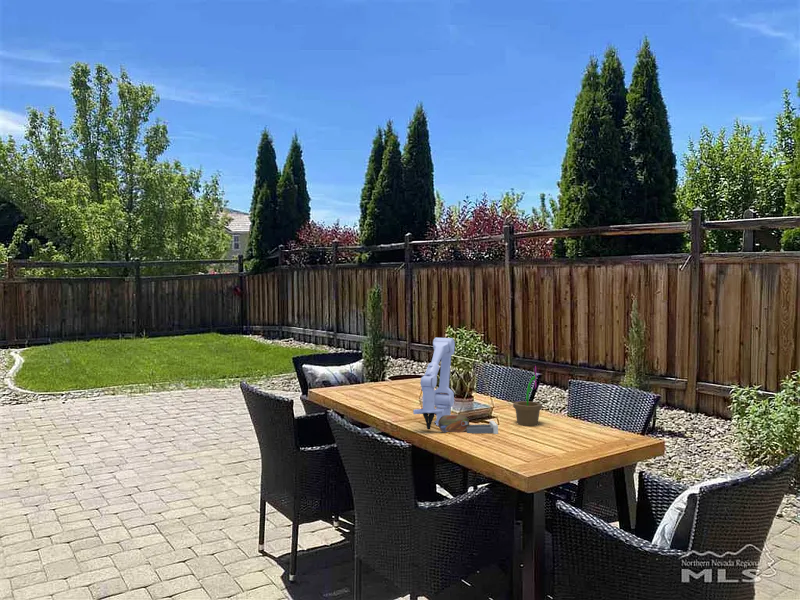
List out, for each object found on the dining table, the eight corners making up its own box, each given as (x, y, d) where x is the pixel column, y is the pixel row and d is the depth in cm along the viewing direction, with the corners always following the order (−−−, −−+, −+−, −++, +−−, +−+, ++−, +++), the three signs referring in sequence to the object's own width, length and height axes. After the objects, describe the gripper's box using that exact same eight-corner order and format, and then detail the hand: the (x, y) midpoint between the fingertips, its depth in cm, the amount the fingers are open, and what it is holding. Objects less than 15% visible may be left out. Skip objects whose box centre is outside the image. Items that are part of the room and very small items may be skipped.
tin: (439, 433, 280) (439, 416, 280) (437, 432, 284) (437, 414, 283) (469, 432, 283) (469, 414, 283) (467, 430, 286) (467, 413, 286)
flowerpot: (542, 427, 292) (542, 367, 291) (513, 426, 295) (513, 366, 294) (541, 421, 306) (541, 363, 305) (513, 420, 309) (513, 363, 308)
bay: (464, 429, 289) (464, 421, 289) (493, 428, 289) (493, 420, 289) (467, 434, 279) (467, 425, 279) (497, 433, 279) (498, 425, 279)
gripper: (414, 402, 278) (414, 431, 279) (444, 402, 279) (444, 430, 279) (413, 399, 285) (413, 427, 286) (442, 399, 286) (442, 427, 286)
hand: (428, 428), depth 283 cm, fingers closed
